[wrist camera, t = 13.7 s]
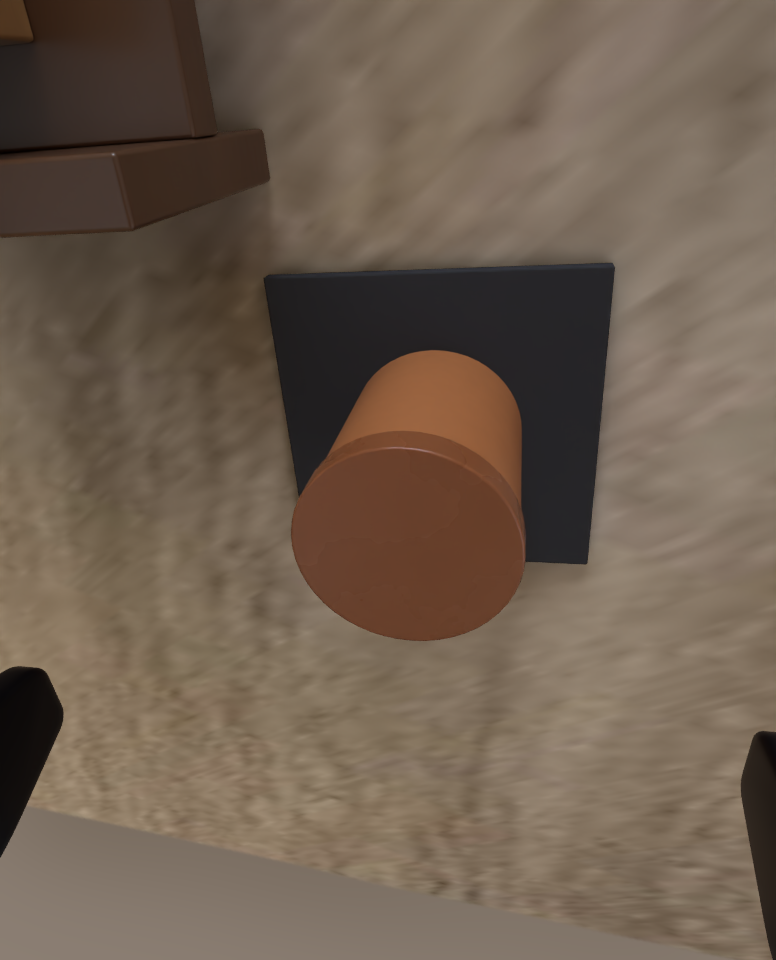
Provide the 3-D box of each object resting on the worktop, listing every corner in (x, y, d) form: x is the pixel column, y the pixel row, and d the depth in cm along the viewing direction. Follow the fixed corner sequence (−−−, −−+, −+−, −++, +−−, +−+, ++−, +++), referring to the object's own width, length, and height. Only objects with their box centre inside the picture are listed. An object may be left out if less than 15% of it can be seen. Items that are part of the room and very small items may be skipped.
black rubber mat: (613, 262, 16) (615, 265, 16) (586, 557, 21) (587, 565, 21) (267, 274, 18) (262, 278, 18) (310, 545, 23) (307, 551, 22)
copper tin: (528, 344, 17) (529, 449, 12) (523, 505, 20) (522, 649, 15) (343, 346, 18) (273, 445, 13) (360, 501, 21) (306, 634, 16)
